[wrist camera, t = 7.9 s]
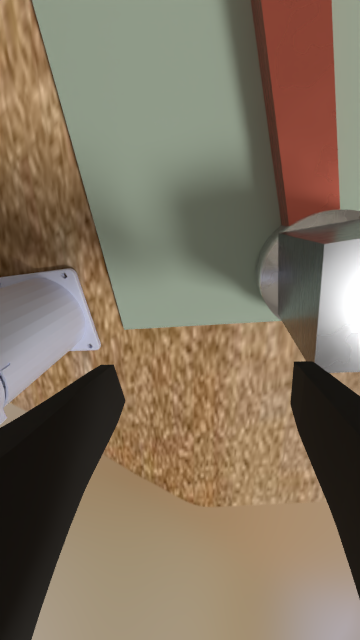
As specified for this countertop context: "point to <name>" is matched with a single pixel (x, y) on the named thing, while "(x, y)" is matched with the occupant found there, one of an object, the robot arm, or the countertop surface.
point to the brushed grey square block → (322, 293)
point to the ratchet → (298, 122)
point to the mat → (183, 147)
